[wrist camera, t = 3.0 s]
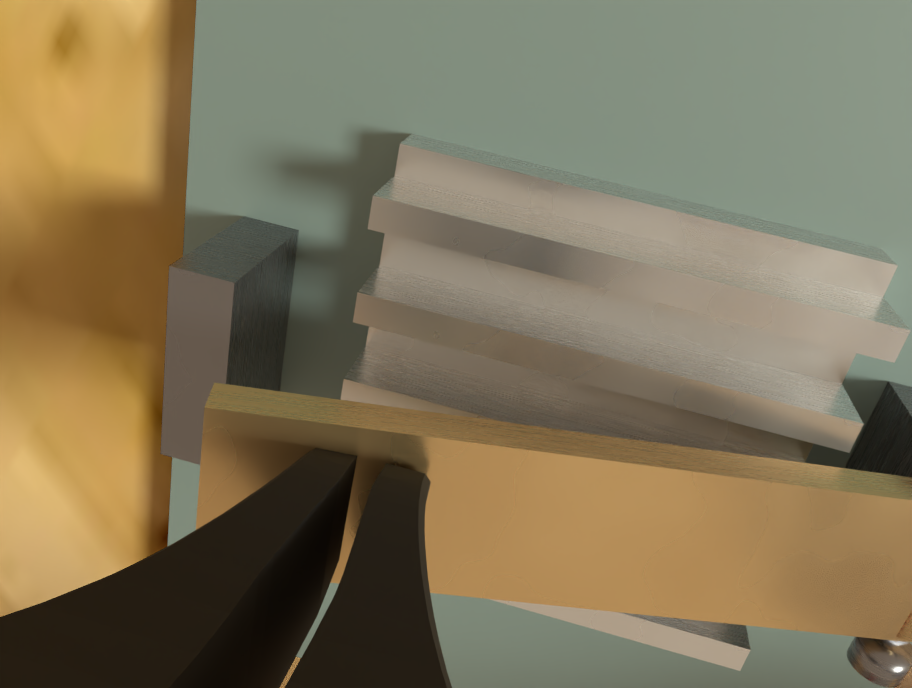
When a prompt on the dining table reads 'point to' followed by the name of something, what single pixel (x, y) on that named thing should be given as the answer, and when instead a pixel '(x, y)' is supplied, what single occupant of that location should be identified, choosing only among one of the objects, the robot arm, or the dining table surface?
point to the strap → (596, 514)
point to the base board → (569, 149)
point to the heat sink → (573, 332)
